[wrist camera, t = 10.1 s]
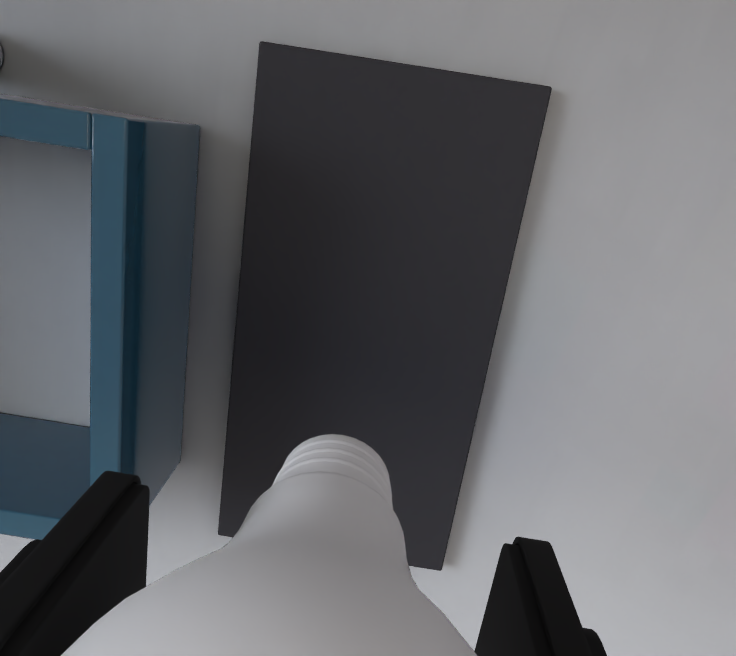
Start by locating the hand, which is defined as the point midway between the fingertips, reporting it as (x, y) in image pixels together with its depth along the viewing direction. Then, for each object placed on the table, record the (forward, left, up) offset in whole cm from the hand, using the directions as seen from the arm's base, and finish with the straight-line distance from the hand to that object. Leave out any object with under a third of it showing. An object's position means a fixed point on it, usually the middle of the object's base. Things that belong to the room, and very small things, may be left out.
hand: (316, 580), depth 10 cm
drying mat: (0, 0, -14) cm, 14 cm away
